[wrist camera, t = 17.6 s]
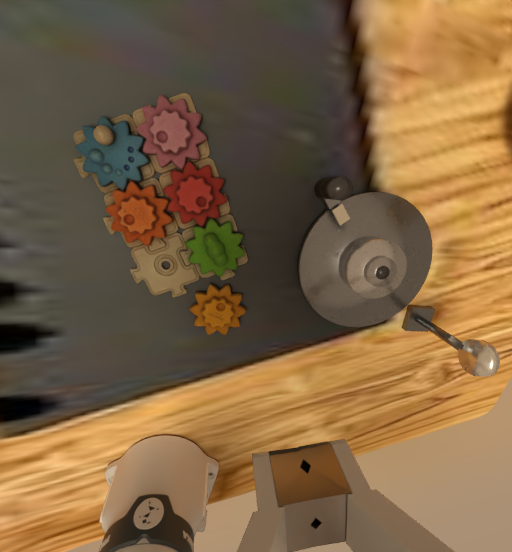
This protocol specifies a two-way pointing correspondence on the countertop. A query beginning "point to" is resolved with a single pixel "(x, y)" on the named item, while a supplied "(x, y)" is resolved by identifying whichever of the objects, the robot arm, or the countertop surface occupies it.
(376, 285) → the cover
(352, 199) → the turntable
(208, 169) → the gear puzzle
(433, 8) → the countertop surface
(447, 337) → the lever with square base
